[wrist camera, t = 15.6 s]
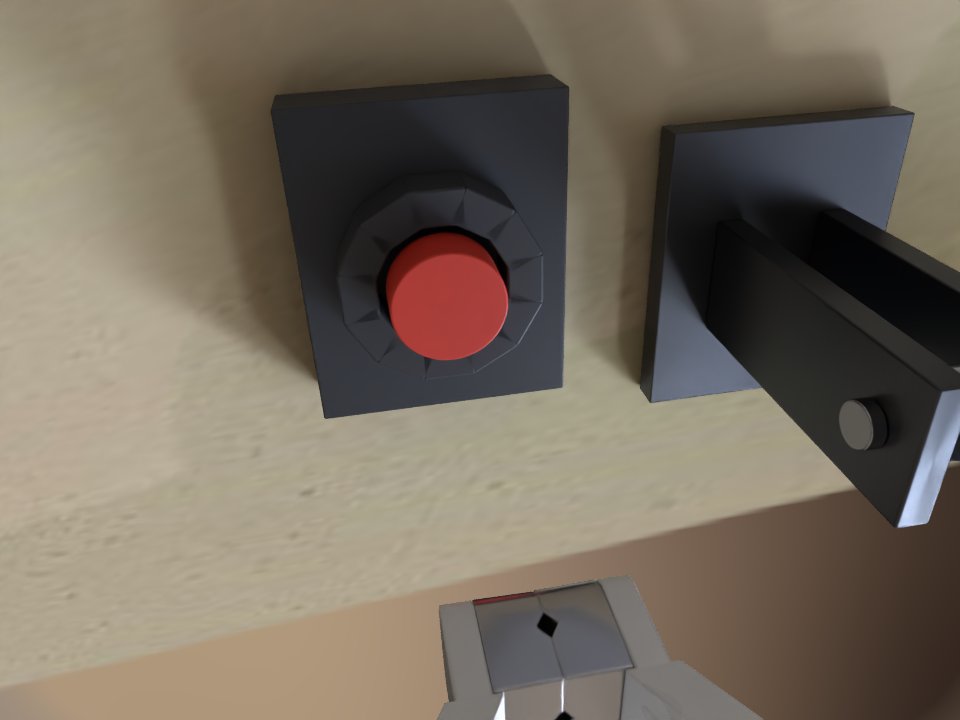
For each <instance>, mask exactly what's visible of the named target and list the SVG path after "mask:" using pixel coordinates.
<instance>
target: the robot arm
mask: <svg viewBox="0 0 960 720" xmlns="http://www.w3.org/2000/svg"><path fill="white" fill-rule="evenodd" d="M439 617H440V627H441V639H442V649H443V658H444V668H445V677H446V684H447V692H448V699H449V702H447V703H445V704H444V706H443V708H442V710H441V712H440V714H439V716H438V718H437V720H764V719H762V718H761V717H759V716H758V715H757V714H755V713H754V712H753V711H751V710H750V709H748V708H747V707H745V706H744V705H743V704H741V703H740V702H739V701H737V700H736V699H734V698H733V697H732V696H730V695H729V694H727V693H726V692H725V691H723V690H722V689H721V688H719V687H718V686H716V685H715V684H714V683H712V682H711V681H709V680H708V679H707V678H705V677H704V676H702V675H701V674H700V673H698V672H697V671H695V670H694V669H693V668H691V667H690V666H688V665H687V664H686V663H684V662H683V661H682V660H676V661H671V660H670V658H669V655H668V653H667V651H666V649H665V647H664V645H663V643H662V640H661V638H660V636H659V634H658V632H657V630H656V628H655V625H654V623H653V622H652V619H651V617H650V615H649V613H648V611H647V608H646V606H645V604H644V602H643V600H642V598H641V596H640V593H639V592H638V589H637V587H636V585H635V583H634V581H633V579H632V578H631V577H630V576H629V575H622V576H616V577H610V578H604V579H598V580H596V581H595V580H589V581H584V582H578V583H572V584H567V585H561V586H556V587H550V588H544V589H539V590H534V592H526V593H519V594H512V595H505V596H498V597H491V598H483V599H476V600H473V601H465V602H458V603H451V604H445V605H440V606H439Z"/></svg>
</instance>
